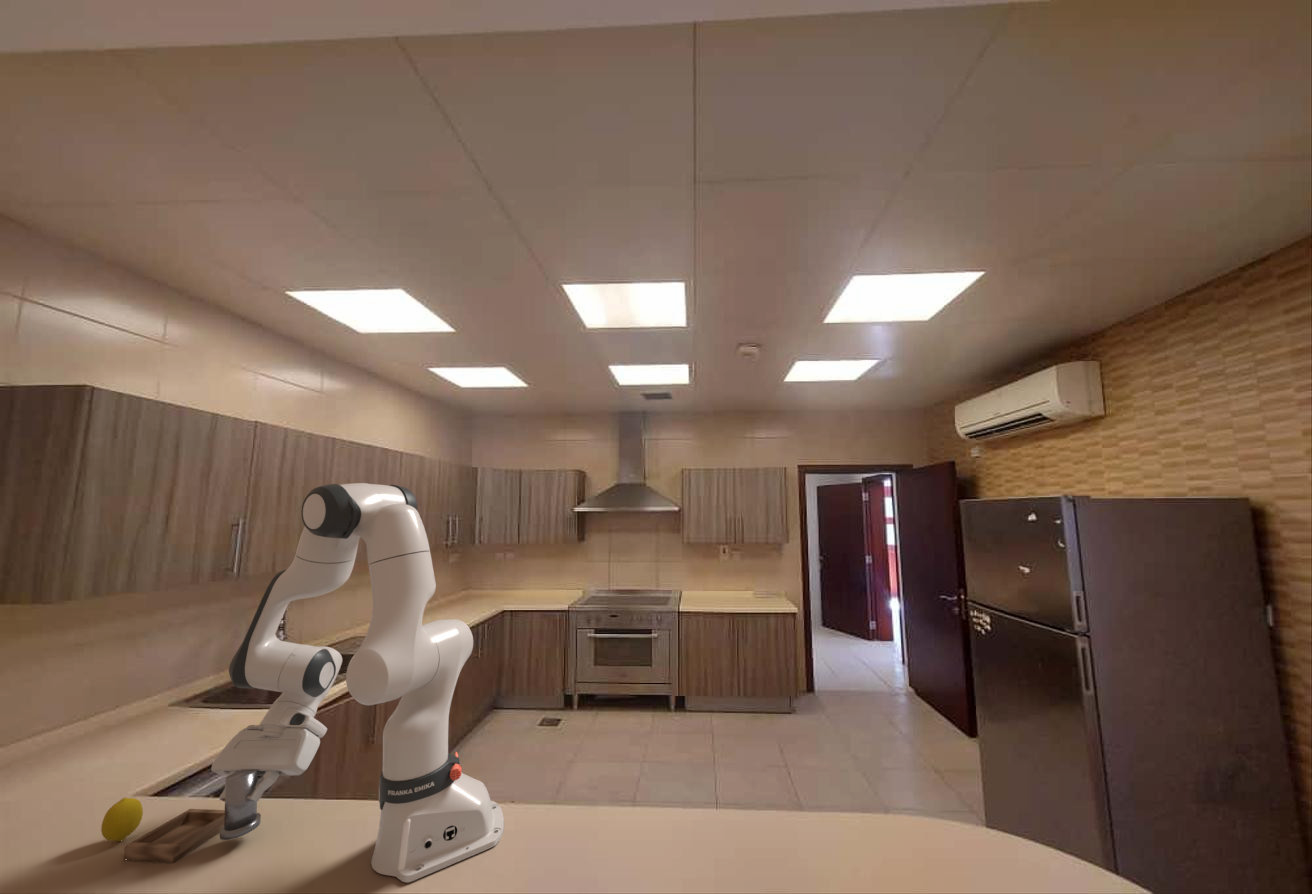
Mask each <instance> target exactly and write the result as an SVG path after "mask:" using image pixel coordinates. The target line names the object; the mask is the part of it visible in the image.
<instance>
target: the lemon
mask: <svg viewBox="0 0 1312 894" xmlns="http://www.w3.org/2000/svg"><path fill="white" fill-rule="evenodd" d="M143 813H144V809H143V805H142V803H141V801H140V800H139V799H137V798H134V797H122V798H121V799H120V800H119V801H118V802H115V803H114V804H113V805H112V806H111V807H109V809H108V810H107V811H106V813H105V815H104V816H103V820H102V823H101V829H100V830H101V835H102V837H103V838H104V839H105V840H107V841H111V842H118V841H121V840H123V839H124V840H125V839H126V838H127V837H128V836H130V835H131V834H132V833H134V832H135V831H136V829H137V828H138V827H139V825H140V824H141V821H142V819H143ZM124 840H123V841H124ZM121 842H122V841H121Z"/></svg>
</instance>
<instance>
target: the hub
mask: <svg viewBox="0 0 1312 894" xmlns="http://www.w3.org/2000/svg"><path fill="white" fill-rule="evenodd" d="M258 776H259V775H258V770H240V771H237V772H235V773H233V774H231V775H229V776H228V777H227V776H226V778H225V782H224V783H225V784H224V789H225V801H224V810H225V815H224V825H223V826H222V827H221V829H220V833H219V839H220V840H222V841H228V840H235V839H237V838H239V837H240V838H241V837H242V836H244V835H247V834H249V833H250V832H252V831H254V830H255V829H257V828H258V827H259V826H260V825H261V821H262V820H261V819H262V818H261V816H262V815H261V813H260V812H258V801H249V800H247V799H246V798H247V795H248V794H249V792H250V791H251V789H252V788H256V787H257V786H258Z"/></svg>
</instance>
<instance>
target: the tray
mask: <svg viewBox="0 0 1312 894" xmlns="http://www.w3.org/2000/svg"><path fill="white" fill-rule="evenodd" d="M224 815H225V809H207V808H206V809H201V808H198V809H197V808H189V809H187V810H186V811H184V812H182V813H180V814H178V815H177V816H175V817H174V818H171V819H170V820H168V821H166V822H164V823H163V824H161V825H159V826H157V827H155V828H154V829H152V830H150V831H148V832H147V833H145V834H143V835H141V836H140V837H138V838H137V839H135V840H133V841H130V842H129V843H127V844H126V845H124V851H123V852H124V854H123V860H124V859H127V860H134V861H133V862H144V861H147V862H148V863H149V862H150V863H163V862H164V863H165V864H169V863H170V864H174V863H175V862H176V861H178V860H180V859H182V858H183V857H185V856H186V855H188V854H189V853H191V852H192V851H194V850H196V849H197V848H199V847H200V846H201V845H203V844H205V843H206V842H207V841H209V840H210V839H212V838H215V836H217V835H218V834H219V835H220V829H221V827H222V826H223V825H224Z"/></svg>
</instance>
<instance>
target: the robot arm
mask: <svg viewBox="0 0 1312 894" xmlns="http://www.w3.org/2000/svg"><path fill="white" fill-rule="evenodd" d="M300 516H301V520H302V524H303V525H304V527H303V529H302V532H301V533H300V538H299V541H298V544H297V547H296V550H295V551H296V552H295V555H294V558H293V560H292V563H291V564H290V565H289V566H288V568H287V569H284V570H281V571H279V572H277V573H276V574H275V575H274V577H273V578H272V579H271V581H270V582H269V583H268V585H267V587H266V589H265V591H264V593H263V595H262V597H261V600H260V602H259V604H258V607H257V608H256V611H255V614H254V615H253V618H252V620H251V623H250V624H249V628H248V629H247V632H246V634H245V636H244V638H243V640H242V642H241V644H240V645H239V647H238V649H237V650H236V652H235V654H234V655H233V657H232V659H231V661H230V664H229V666H228V675H229V677H230V678H229V679H231V682H232V683H233V685H234V686H235V687H236V688H239V689H250V690H251V689H253V690H254V689H255V690H264V691H270V692H279V693H280V695H279V697H277V698H276V700H274V702H273V703H272V705H271V706H270V707H269V709H268V710H267V712H266V714H265V715H264V717H263V718H262V720H261V721H260V723H259V724H250V725H248V726H247V727H245V728H243V729H241V730H239V731H238V733H236V734H235V735H234V736H233V737H232V738H231V739H230V740H229V742H228V743H227V744H225V746H224V748H222V750H221V752H220V753H219V754H218V755H217V756H216V758H215V759H214V761H213V762H212V764H211V769H210V770H211V771H212V772H213V773H215V774H217V775H220V776H223V777H224V776H225V777H226V778H227V777H228V776H229V775H231V774H233V773H235V772H237V771H240V770H258V776H262V778H263V779H262V780H261V781H260V783H259V784H257V787H256V788H252V789H251V791H250V792H249V794H248V795H247V798H246V799H247V800H249V801H257V802H259V801H260V799H261V798H262V796H263V795H264V793H265V791H267V790H268V789H269V788H270V787H271V786H272V785H273V784H274V783H275V782H277V780H278V778H279V776H300V775H302V774H303V773H305V771H307V769H308V768H309V766H310V764H311V763H312V762H313V759H314V758H315V755H316V753H317V751H318V749H319V748H320V744H321V738H323V737H324V736H325V734H326V733H327V731H328V728H327V726H325V725H324V724H323V723H322V722H321V721H319V720H317V718H315V717H316V714H317V711H318V709H319V708H318V707H319V706H320V704H321V703H322V702H323V700H324V699H325V698H326V697H327V695H328V694H329V692H330V690H331V688H332V687H333V684H334V683H335V680H337V679H336V678H337V677H338V675H339V671H340V670H341V666H342V664H343V657H342V655H341V653H340V652H339V651H338V650H336V649H335V648H333V647H329V646H325V645H322V646H321V645H320V646H315V645H312V644H311V645H310V644H306V643H305V644H302V643H296V642H290V641H286V640H285V641H284V640H281V639H279V638H278V636H277V635H276V633H277V631H278V629H279V626H280V624H281V621H282V619H283V617H284V614H285V612H286V610H287V608H288V606H289V604H290V603H291V602H294V601H297V600H304V599H311V598H316V597H320V596H323V595H327V594H330V593H331V592H334V591H335V590H338V589H339V588H341V587H342V586H343V585H345V583H346V582H347V581H348V580H349V579H350V577H351V575H352V571H353V569H354V565H355V562H356V558H357V552H358V547H359V543H360V538H361V539H362V540H363V541H364V542H365V545H366V555H367V564H368V569H369V577H370V586H371V587H370V588H371V596H372V610H371V611H372V612H371V617H370V621H369V622H370V623H369V625H368V630H367V632H366V635H365V637H364V638H363V639H364V640H363V642H362V643H361V644H360V647H359V648H358V649H357V650H356V652H355V653H354V655H353V656H352V658H351V659H350V661H349V663H348V665H347V668H346V674H345V680H346V687H347V690H348V692H349V694H350V695H351V697H352V698H353V699H354V700H355V701H356V702H358V703H359V704H361V705H364V706H373V705H379V704H384V703H386V702H387V703H388V702H391V701H395V700H398V699H399V698H400V700H399V702H398V704H397V706H396V708H395V710H394V711H393V712H392V713H391V715H390V717H389V718H388V720H387V721H386V723H385V725H384V727H383V732H382V771H381V773H380V776H379V782H378V803H379V809H380V817H379V824H378V825H379V826H378V832H377V836H376V842H375V846H374V850H373V854H372V855H371V856H372V857H371V862H370V863H371V867H372V869H373V870H374V871H375V872H376V873H378V874H380V875H384V876H392V877H396V878H397V879H398V880H399V881H401V882H403V883H407V884H408V883H411V882H414V881H417V880H418V879H421V878H423V877H426V876H428V875H430V874H432V873H435V872H438V871H441V870H442V869H444V868H447V867H449V866H451V865H454V864H456V863H458V862H461V861H463V860H466V859H468V858H471V857H472V856H475V855H477V854H480V853H482V852H484V851H486V850H489V849H491V848H493V847H495V846H496V845H497V844H498V843H499V842H500V840H501V838H502V836H503V834H504V828H505V821H504V820H505V819H504V813H503V809H502V808H501V806H500V804H498V803H497V802H496V801H494V800H491V798H490V794H489V791H488V788H487V786H486V785H485V783H484V782H482V781H481V780H478V779H476V778H473V777H472V776H470V775H467V774H465V773H463V772H462V771H463V769H462V765H461V763H460V758H459V754H458V752H457V751H455V755H454V754H452V753H450V752H449V722H450V721H449V718H450V709H451V705H452V700H453V696H454V692H455V689H456V686H457V682H458V680H459V679H458V678H459V676H460V673H461V671H462V669H463V667H464V665H466V662H467V660H468V659H469V657H470V656H471V655H472V652H473V648H474V636H473V632H472V631H471V629H470V627H469V626H468V624H467V623H466V622H464V621H463V620H461V619H457V618H453V619H452V618H450V619H448V618H445V619H436V620H433V621H431V622H428V623H423V620H424V619H423V618H424V613H425V609H426V606H427V603H428V602H430V599H432V597H433V596H434V594H435V592H436V588H437V583H436V576H435V571H434V566H433V559H432V553H431V550H430V549H431V547H430V543H429V539H428V536H427V535H428V534H427V532H426V529H425V525H424V524H423V521H422V518H421V515H420V513H419V511H418V502H417V498H416V496H415V494H414V493H413V492H412V490H411V489H409V488H407V487H404V486H402V485H397V484H389V485H387V484H378V483H377V484H375V483H367V482H354V483H353V482H351V483H343V484H339V483H331V484H326V485H320V486H317V487H314V488H313V489H311V490H310V491H309V493H308V494H307V495H306V497H305V498H304V499H303V502H302V505H301V515H300ZM218 799H219V800H220V801H222V802H225V788H224V789H223V790H222V792H221V794H220V795H219V797H218Z"/></svg>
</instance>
